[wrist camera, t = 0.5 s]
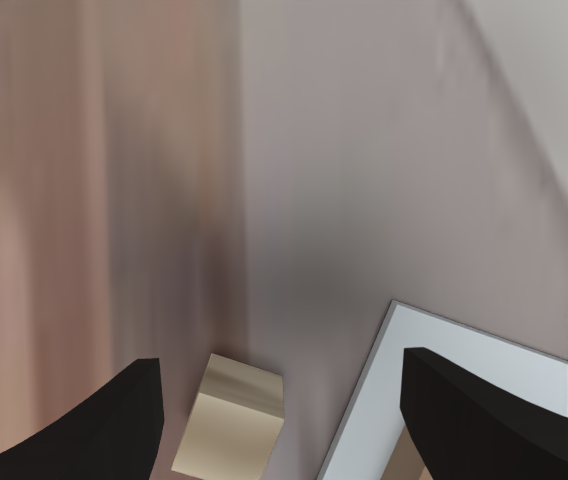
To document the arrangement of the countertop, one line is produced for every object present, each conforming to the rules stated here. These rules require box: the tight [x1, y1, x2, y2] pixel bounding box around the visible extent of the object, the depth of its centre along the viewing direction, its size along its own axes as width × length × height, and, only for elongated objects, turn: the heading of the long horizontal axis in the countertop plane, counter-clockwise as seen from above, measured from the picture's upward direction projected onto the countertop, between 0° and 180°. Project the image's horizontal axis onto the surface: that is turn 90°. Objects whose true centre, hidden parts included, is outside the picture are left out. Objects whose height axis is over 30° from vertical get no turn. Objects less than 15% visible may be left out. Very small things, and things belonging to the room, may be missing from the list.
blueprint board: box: [316, 300, 568, 480], centre depth 21 cm, size 14×12×4 cm
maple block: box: [171, 353, 285, 480], centre depth 20 cm, size 4×4×4 cm
